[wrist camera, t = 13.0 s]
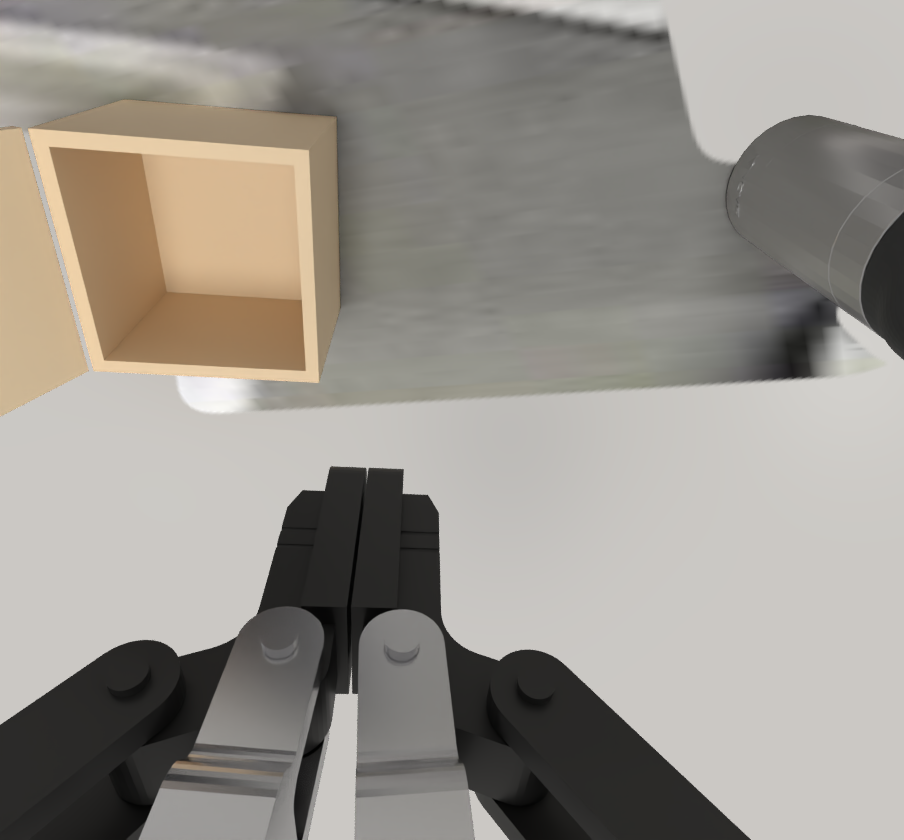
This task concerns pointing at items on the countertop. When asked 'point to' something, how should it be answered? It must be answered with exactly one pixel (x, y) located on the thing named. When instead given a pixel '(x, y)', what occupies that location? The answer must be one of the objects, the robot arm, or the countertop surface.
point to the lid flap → (30, 288)
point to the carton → (197, 236)
